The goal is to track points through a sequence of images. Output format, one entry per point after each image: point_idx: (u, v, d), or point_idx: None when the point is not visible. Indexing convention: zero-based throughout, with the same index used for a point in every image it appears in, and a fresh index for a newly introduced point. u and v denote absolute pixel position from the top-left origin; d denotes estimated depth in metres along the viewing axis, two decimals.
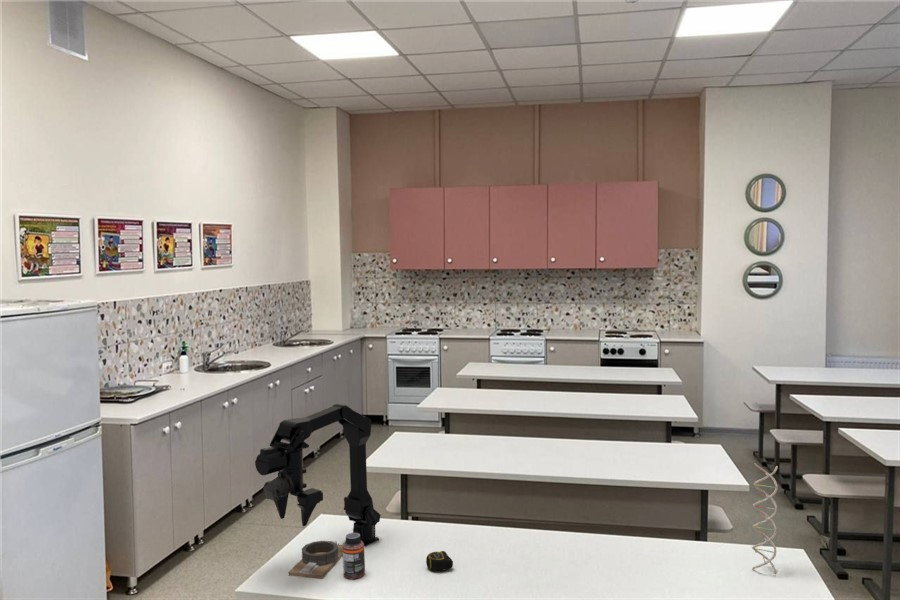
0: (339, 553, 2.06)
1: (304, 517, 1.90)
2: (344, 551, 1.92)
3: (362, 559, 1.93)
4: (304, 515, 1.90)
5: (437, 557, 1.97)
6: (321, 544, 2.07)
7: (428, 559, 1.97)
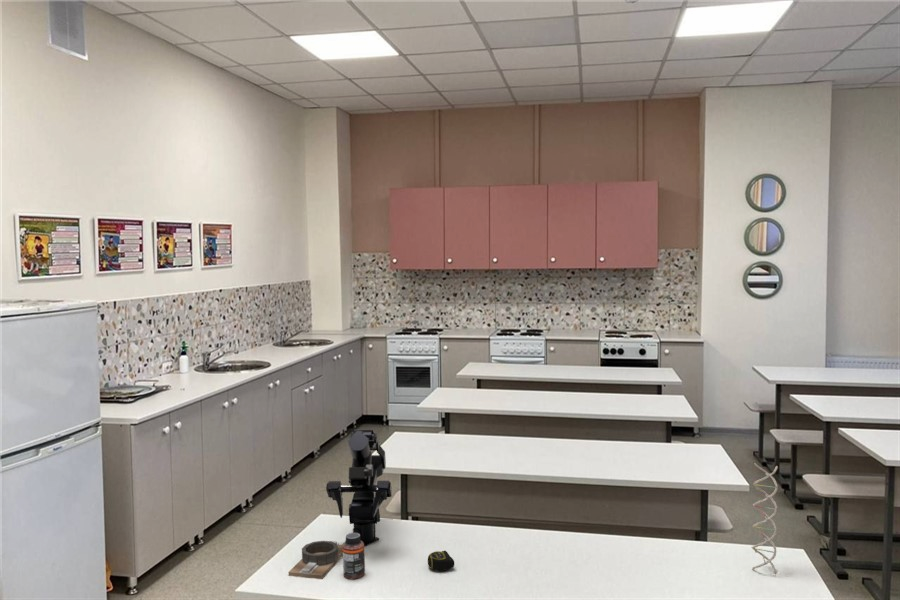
0: (339, 553, 2.06)
1: (376, 506, 2.03)
2: (344, 551, 1.92)
3: (362, 559, 1.93)
4: (377, 504, 2.03)
5: (438, 557, 1.97)
6: (321, 544, 2.07)
7: (429, 559, 1.97)
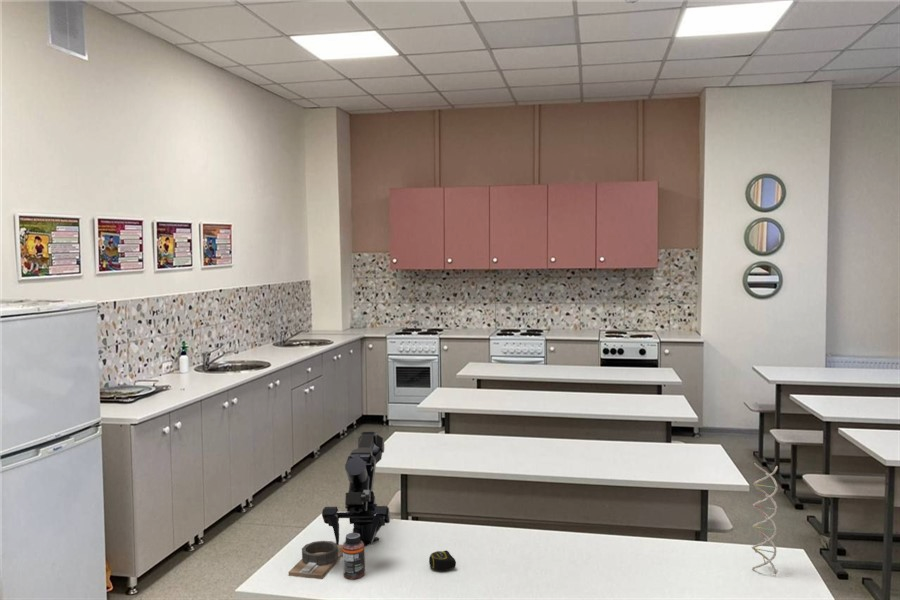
0: (339, 553, 2.06)
1: (374, 533, 1.96)
2: (344, 551, 1.92)
3: (362, 559, 1.93)
4: (375, 530, 1.96)
5: (440, 556, 1.97)
6: (321, 544, 2.07)
7: (431, 559, 1.97)
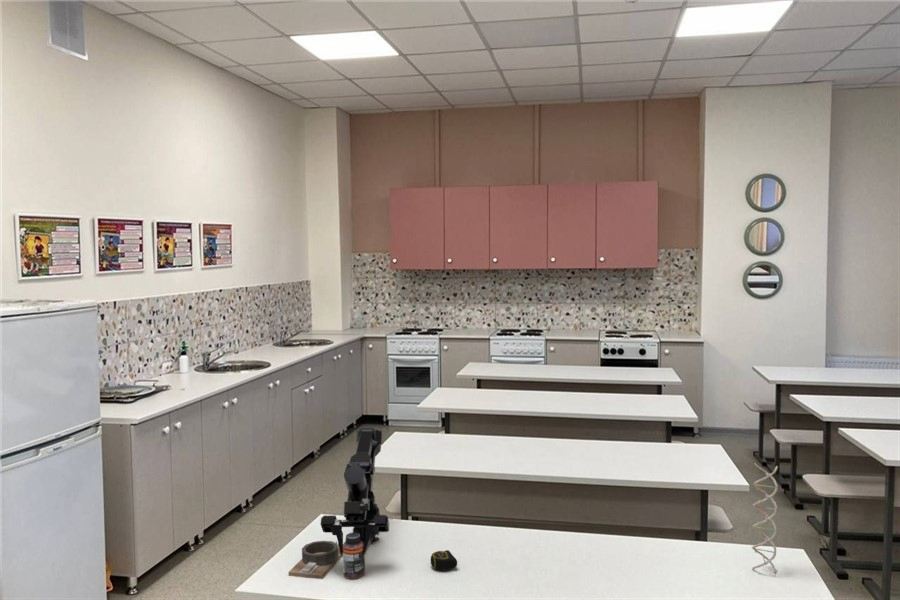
0: (339, 553, 2.06)
1: (368, 542, 1.94)
2: (344, 551, 1.92)
3: (362, 559, 1.93)
4: (369, 540, 1.94)
5: (441, 556, 1.98)
6: (321, 544, 2.07)
7: (432, 558, 1.97)
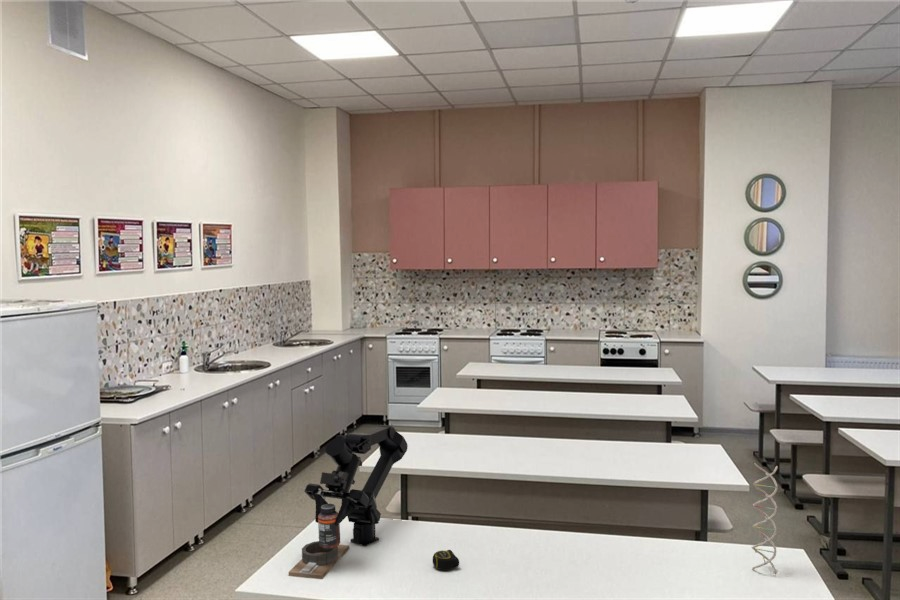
0: (339, 553, 2.06)
1: (341, 515, 1.96)
2: (318, 520, 1.97)
3: (334, 530, 1.96)
4: (342, 512, 1.97)
5: (443, 556, 1.98)
6: None
7: (434, 558, 1.97)
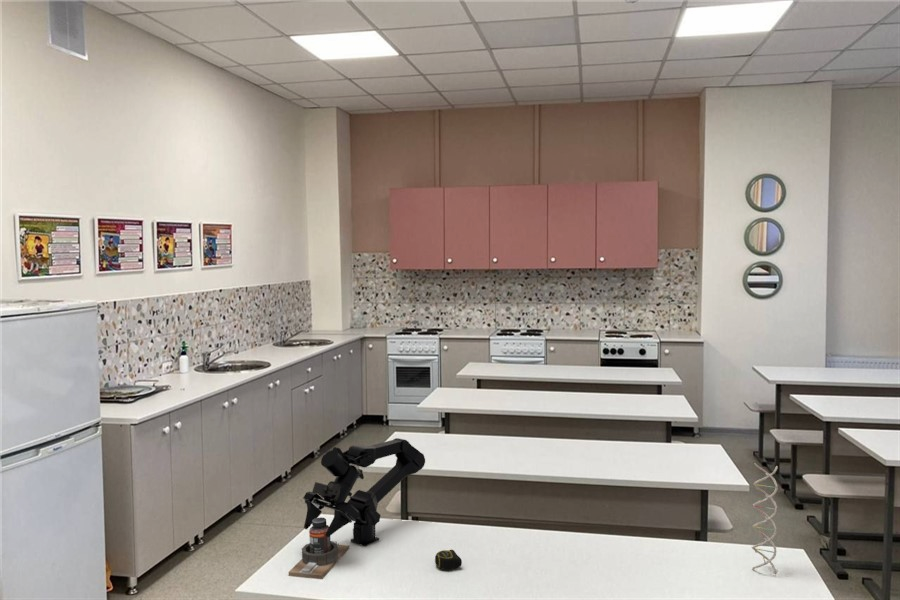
0: (339, 553, 2.06)
1: (332, 526, 1.99)
2: (309, 532, 2.02)
3: (322, 545, 2.00)
4: (333, 524, 1.99)
5: (446, 555, 1.98)
6: None
7: (437, 558, 1.97)
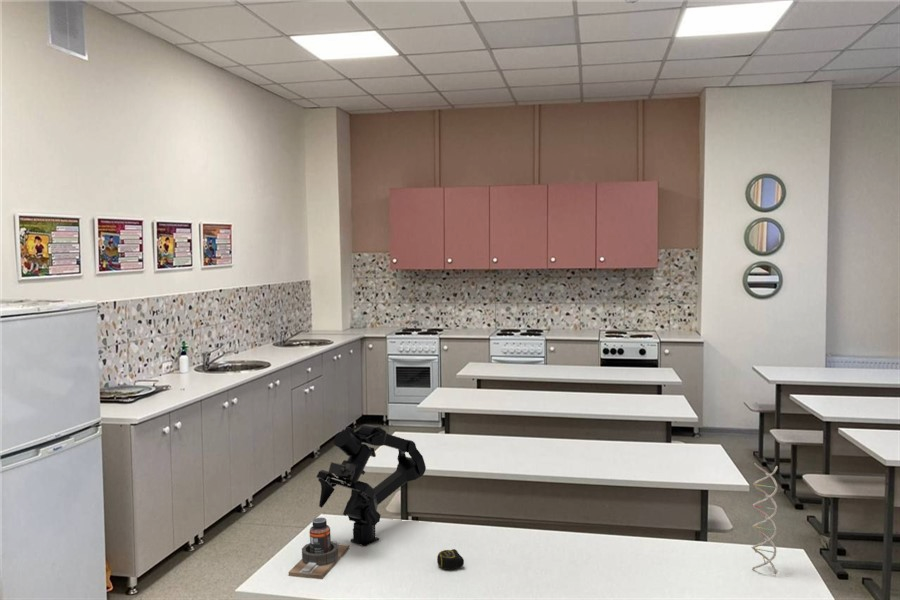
0: (339, 553, 2.06)
1: (349, 505, 2.04)
2: None
3: (322, 545, 2.00)
4: (351, 503, 2.04)
5: (448, 555, 1.98)
6: None
7: (439, 557, 1.98)
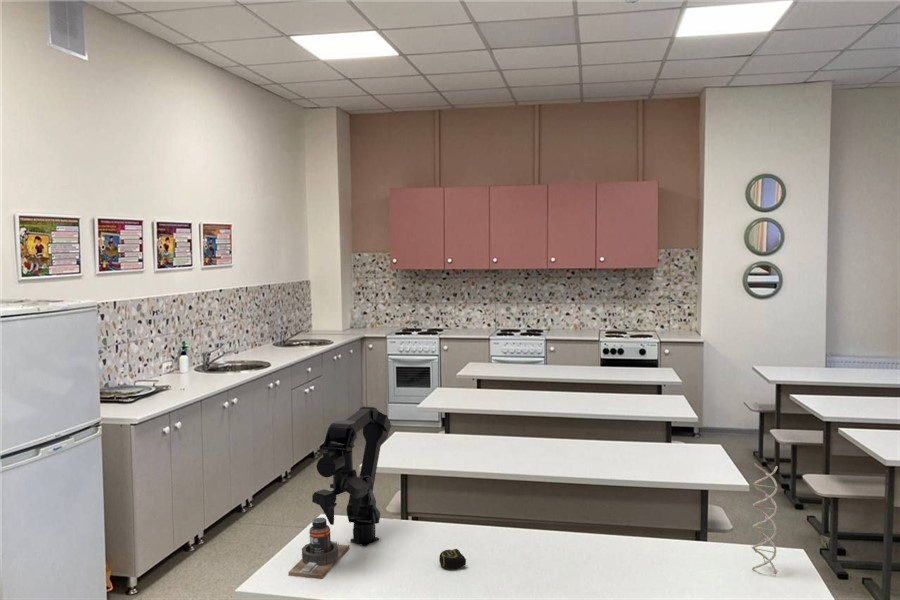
0: (339, 553, 2.06)
1: None
2: (309, 532, 2.02)
3: (322, 544, 2.00)
4: None
5: (450, 555, 1.98)
6: None
7: (441, 557, 1.98)
